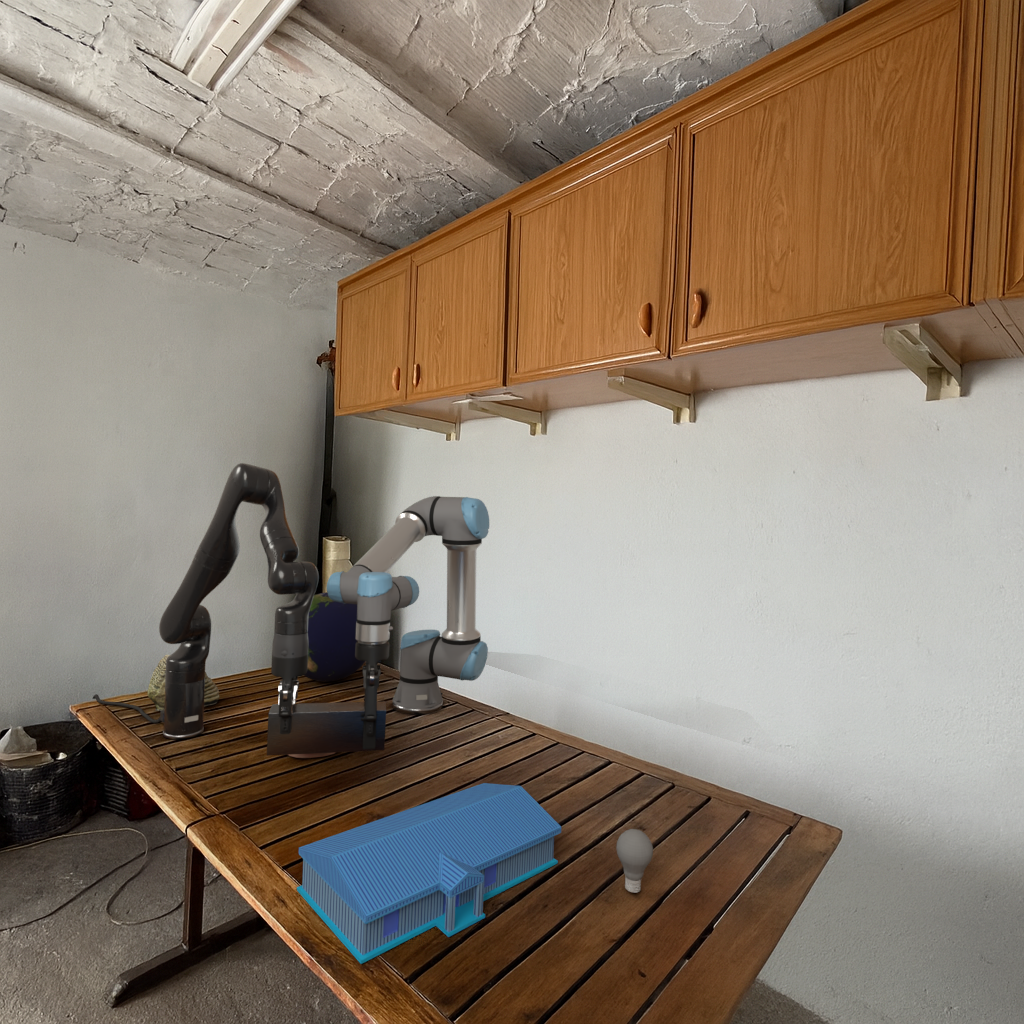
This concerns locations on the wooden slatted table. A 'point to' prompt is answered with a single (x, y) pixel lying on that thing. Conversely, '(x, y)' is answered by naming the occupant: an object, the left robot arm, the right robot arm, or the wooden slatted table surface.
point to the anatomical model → (310, 755)
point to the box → (324, 728)
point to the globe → (331, 639)
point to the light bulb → (634, 857)
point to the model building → (426, 866)
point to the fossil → (158, 687)
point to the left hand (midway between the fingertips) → (287, 727)
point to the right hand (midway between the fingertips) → (368, 742)
